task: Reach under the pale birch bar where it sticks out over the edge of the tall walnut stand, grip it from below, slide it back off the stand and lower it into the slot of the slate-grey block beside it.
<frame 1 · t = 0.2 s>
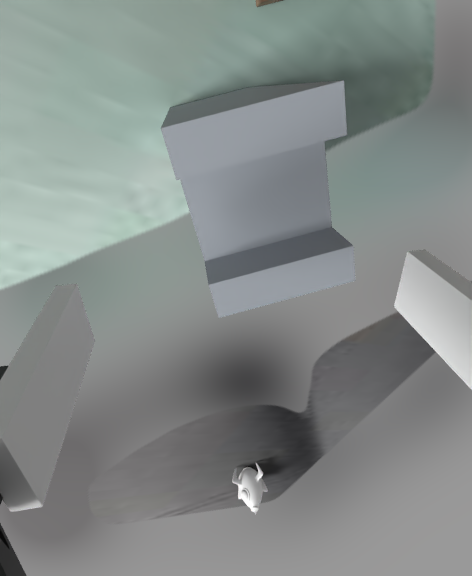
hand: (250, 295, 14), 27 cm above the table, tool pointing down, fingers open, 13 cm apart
slotted block: (221, 149, 37), on the table
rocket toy: (247, 468, 65), on the table
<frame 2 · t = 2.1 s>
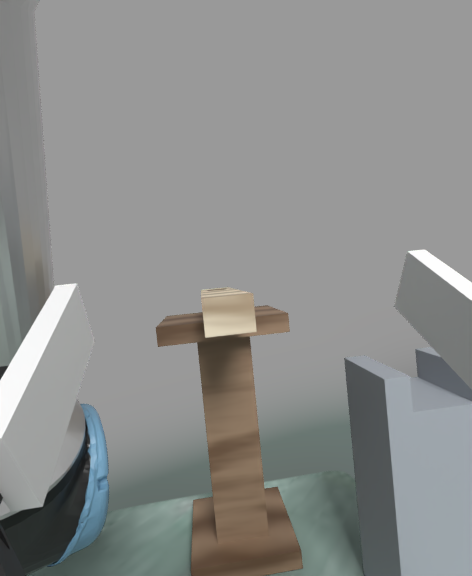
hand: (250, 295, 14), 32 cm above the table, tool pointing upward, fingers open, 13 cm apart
birch bar: (221, 317, 40), point 28 cm above the table, touching walnut stand
walnut stand: (242, 537, 44), on the table
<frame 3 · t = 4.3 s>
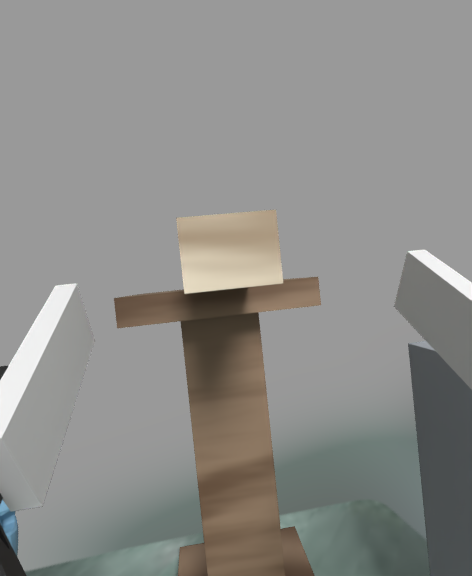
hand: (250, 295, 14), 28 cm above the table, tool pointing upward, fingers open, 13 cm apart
birch bar: (216, 287, 27), point 28 cm above the table, touching walnut stand
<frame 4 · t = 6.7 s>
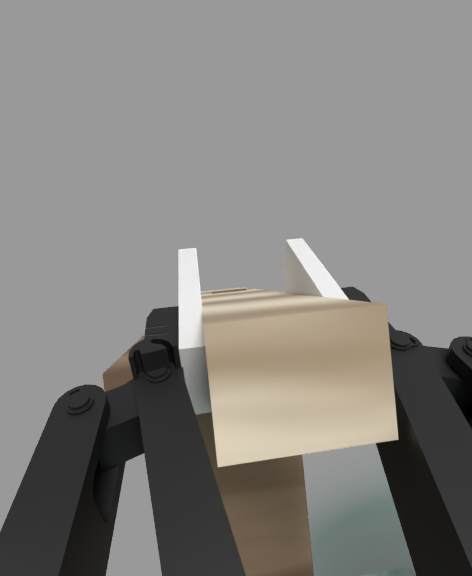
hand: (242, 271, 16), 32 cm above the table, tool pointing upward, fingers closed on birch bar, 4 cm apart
birch bar: (240, 345, 20), point 28 cm above the table, touching gripper, walnut stand
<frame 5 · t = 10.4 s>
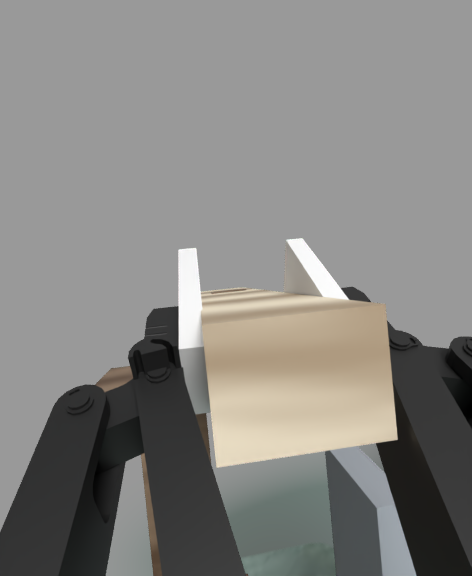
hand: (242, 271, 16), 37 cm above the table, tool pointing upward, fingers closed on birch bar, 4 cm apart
birch bar: (240, 345, 20), point 33 cm above the table, touching gripper
when the fingers open (25 cm above the table, at t = 14.3 s): birch bar stays where it is, resting on slotted block.
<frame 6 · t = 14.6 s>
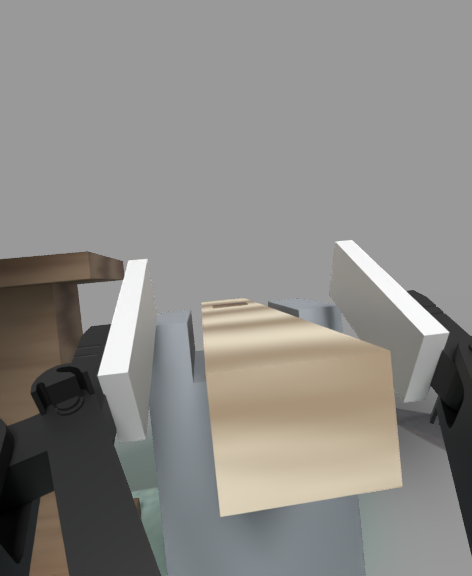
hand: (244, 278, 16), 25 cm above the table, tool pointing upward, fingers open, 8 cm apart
birch bar: (241, 362, 20), point 20 cm above the table, touching slotted block
walnut stand: (63, 569, 32), on the table
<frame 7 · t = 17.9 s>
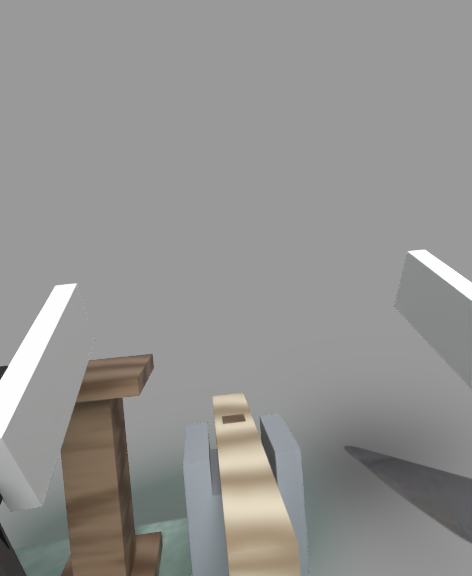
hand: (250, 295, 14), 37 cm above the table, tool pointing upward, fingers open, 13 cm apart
birch bar: (241, 472, 33), point 20 cm above the table, touching slotted block
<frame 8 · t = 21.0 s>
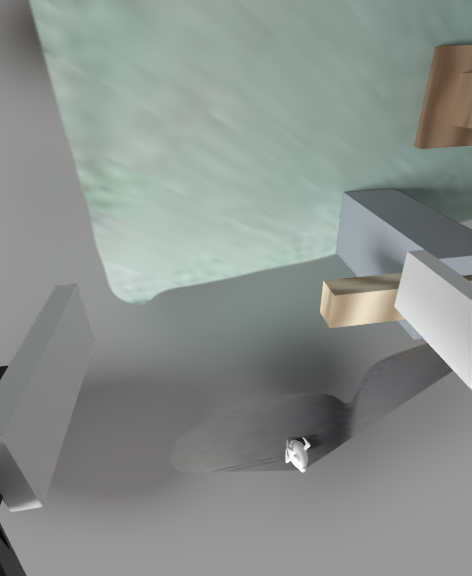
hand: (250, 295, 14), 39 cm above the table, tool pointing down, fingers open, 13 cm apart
slotted block: (363, 221, 57), on the table
birch bar: (433, 284, 39), point 20 cm above the table, touching slotted block
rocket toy: (293, 441, 84), on the table
walnut stand: (464, 97, 49), on the table
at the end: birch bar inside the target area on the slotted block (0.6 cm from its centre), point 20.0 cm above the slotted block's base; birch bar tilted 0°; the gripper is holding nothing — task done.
